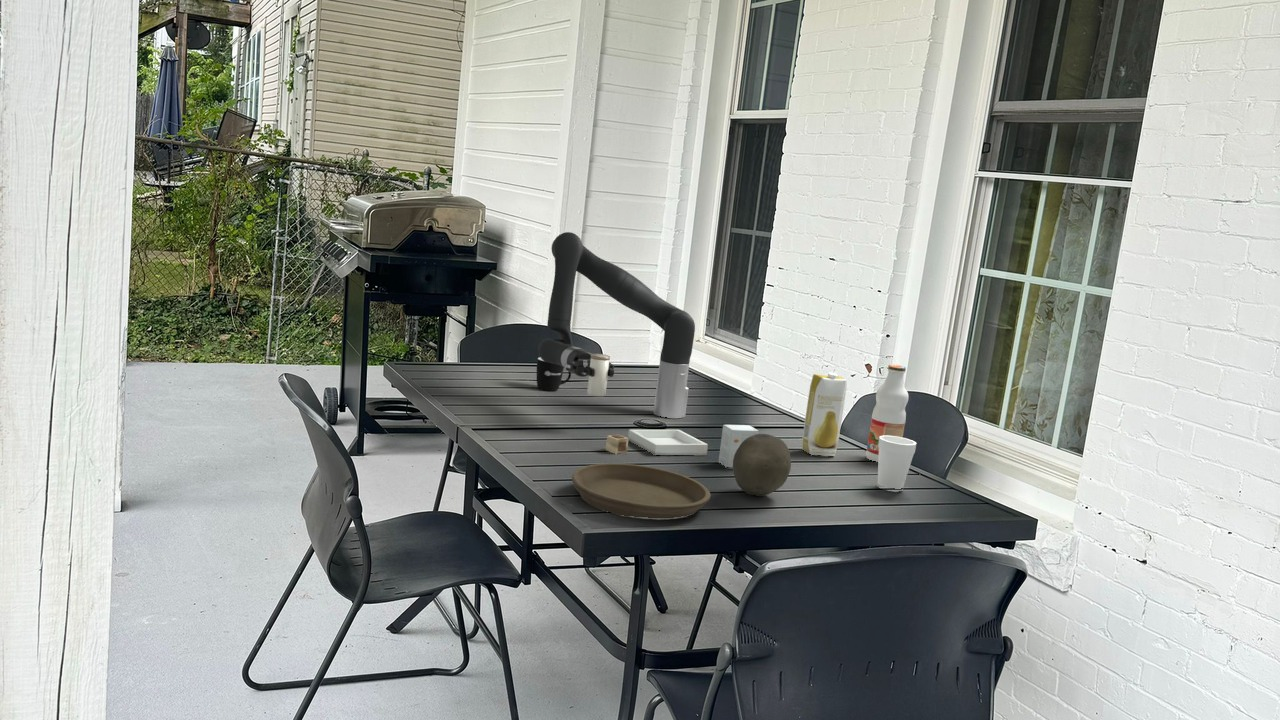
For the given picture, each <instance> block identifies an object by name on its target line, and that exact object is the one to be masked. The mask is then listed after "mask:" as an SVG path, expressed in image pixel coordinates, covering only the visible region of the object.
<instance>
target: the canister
mask: <svg viewBox="0 0 1280 720" xmlns="http://www.w3.org/2000/svg"><path fill="white" fill-rule="evenodd" d="M590 358H591V360H590V367H591V368H593V369H595V373H594V377H591V376H589V375H588V381H587V389H586V390H587V391H586V394H587V395H589V396H593V397H604V396H606V394H607V385H608V377H609V376H608V367H609V362H610V358H611V356H610V355H608V354H603V353H591V357H590Z"/></svg>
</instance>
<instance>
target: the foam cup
mask: <svg viewBox="0 0 1280 720" xmlns="http://www.w3.org/2000/svg"><path fill="white" fill-rule="evenodd" d="M878 447H879V459H878V463H877V464H878V465H877V466H878V467H877V485H878V484H879V485H881V486H884V487H888V488H895V489H901V488H903V489H904V487H905V484H906V481H907V477H908V473H909V470H910V467H911V464H912V461H913V457H914V456H915V455H914V454H915V453H916V449H917V442H916V441H914V440H912V439H909V438H906V437H903V438H902V437H897V436H880V437H879V443H878Z"/></svg>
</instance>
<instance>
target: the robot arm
mask: <svg viewBox="0 0 1280 720" xmlns="http://www.w3.org/2000/svg"><path fill="white" fill-rule="evenodd" d="M550 249H551V253H552V256H553V258H554V279H553V286H552V289H551V295H550V300H549V307H548V315H547V322H546V323H547V325H546V327H547V329H548V330H550V331H553V332H555V333H557V334H558V335H559V336H558V337H559V338H558V339H557V338H550V337H549V338H545V339H542V340H541V342H540V343H539V345H538V348H537V349H538V350H537V351H538V355H539V357H541V359H542V360H544V361H546V362H549V363H553V364H557V365H560V366H562V367H564V369H565V371H570V372H571V374H574V375H575V376H578V377H581V378H584V377H589V376H591V377H594V373H595V369H593V368H591V367H590V360H591V358H590V357H591V354H592V352H589V351H588V350H585V349H583V348H581V347H577V346H574V344H573V338H572V331H571V330H572V329H571V322H572V316H573V314H572V312H573V301H574V291H575V281H576V275H577V273H579V274H580V275H582V276H584V277H585V278H587V279H588V280H589V281H590V282H591V283H593V285H595V286H596V287H597V288H599V289H600V290H602V292H604V293H605V294H607V295H608V296H609V297H611V298H612V299H613V300H615V301H616V302H618V303H619V304H621V305H623V306H625V308H628V309H630V310H631V311H634V312H636V313H638V314H639V315H640V314H641V315H643V316H645V317H646V318H647V319H649V320H651V321H652V322H653V323H655V324H656V325H657V326H658V327H659V328H661V329H662V330H663V331H664V335H663V342H662V348H661V350H660V358H659V365H658V374H657V382H656V389H655V398H654V405H653V415H654V416H657V417H660V416H661V418H665V417H667V418H666V419H680V418H685V417H686V413H687V412H686V411H687V405H688V397H689V396H688V395H689V389H690V388H689V387H688V386H687V385H688V375H689V370H690V369H689V368H690V360H691V357H692V353H693V346H694V341H695V332H696V323H695V321H694V319H693V317H692V315H690V314H689V313H688V312H687V311H685V310H683V309H681V308H678V307H676V306H675V305H674V304H671V303H669V302H667V301H666V300H664V299H663V298H662V297H660V296H659V295H657V294H656V293H655V292H654V291H653V290H651V288H649V287H648V285H646V284H645V283H644V282H642V281H641V280H639V279H638V278H637V277H636V276H634V275H632V274H631V273H630V272H628V271H627V270H625V269H624V268H621V267H620V266H618V265H616V264H614V263H611V262H610V261H608V260H605V259H603V258H601V257H598V255H596V254H594V252H592V251H591V250H589V249H588V248H587V247H586V246H584V245H583V241H582V240H581V238H580V237H579V236H578V235H577V234H576V233H573V232H570V231H566V232H562V233H560V234H559V235H557V236H556V238H555V239H554V240H553V241H552V244H551V248H550ZM614 369H615V365H614V364H613V363H612V362H610V361H609V367H608V377H610V378H613V377H614V374H615V370H614Z"/></svg>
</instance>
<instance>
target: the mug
mask: <svg viewBox="0 0 1280 720" xmlns="http://www.w3.org/2000/svg"><path fill="white" fill-rule="evenodd" d="M564 369H565V368H564V367H562V366H560V365H557V364H553V363H549V362H546V361H544V360H542V359H541V357H540V356H539V357H538V358H537V359H536V385H537V388H538V390H540V391H543V392H558V390H559V388H560V386H561V385H564V384H566V383H567V382H569V381H570V379H571V377H572V372H570V371H568V376H567V378H566V379H565V380H563V381H562V378H563V373H564Z"/></svg>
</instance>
